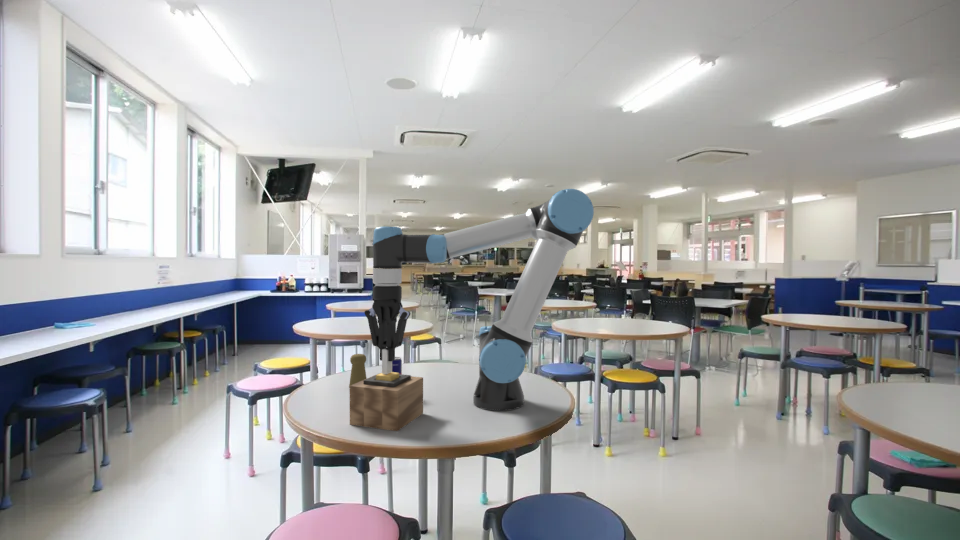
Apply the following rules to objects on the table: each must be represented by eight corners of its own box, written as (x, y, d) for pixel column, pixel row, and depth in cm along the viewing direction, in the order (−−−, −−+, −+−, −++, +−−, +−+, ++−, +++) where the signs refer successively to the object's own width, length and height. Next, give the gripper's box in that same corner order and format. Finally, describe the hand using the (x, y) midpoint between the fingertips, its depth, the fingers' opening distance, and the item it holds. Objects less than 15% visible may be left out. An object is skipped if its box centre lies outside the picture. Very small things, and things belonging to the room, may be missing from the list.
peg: (399, 405, 119) (399, 372, 119) (390, 410, 115) (390, 376, 115) (385, 404, 121) (384, 371, 121) (376, 409, 117) (376, 375, 117)
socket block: (423, 413, 122) (423, 373, 122) (397, 431, 109) (397, 387, 109) (379, 408, 127) (379, 369, 127) (349, 424, 114) (349, 382, 114)
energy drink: (397, 399, 135) (397, 360, 135) (381, 398, 136) (381, 359, 136) (404, 394, 140) (404, 356, 140) (388, 393, 141) (388, 356, 141)
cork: (348, 385, 151) (348, 353, 151) (367, 383, 153) (366, 352, 153) (349, 389, 146) (349, 356, 145) (368, 388, 147) (367, 355, 147)
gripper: (415, 284, 119) (415, 371, 119) (374, 283, 123) (373, 368, 124) (401, 285, 112) (401, 378, 112) (358, 284, 116) (358, 374, 117)
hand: (387, 372), depth 118 cm, fingers closed
